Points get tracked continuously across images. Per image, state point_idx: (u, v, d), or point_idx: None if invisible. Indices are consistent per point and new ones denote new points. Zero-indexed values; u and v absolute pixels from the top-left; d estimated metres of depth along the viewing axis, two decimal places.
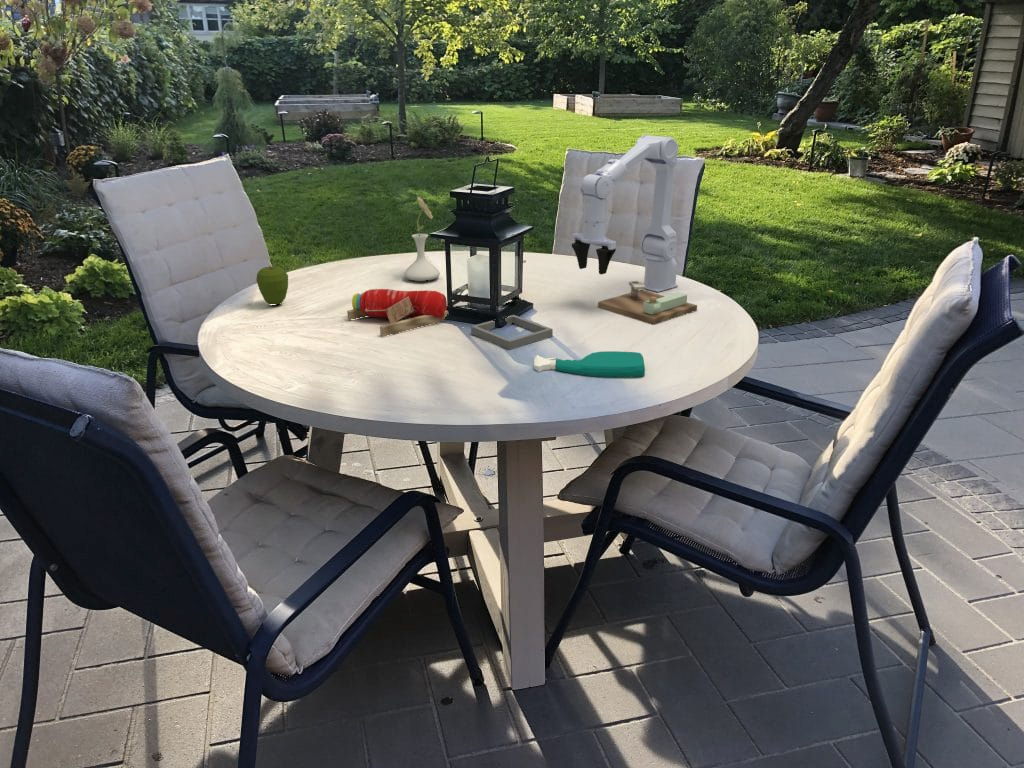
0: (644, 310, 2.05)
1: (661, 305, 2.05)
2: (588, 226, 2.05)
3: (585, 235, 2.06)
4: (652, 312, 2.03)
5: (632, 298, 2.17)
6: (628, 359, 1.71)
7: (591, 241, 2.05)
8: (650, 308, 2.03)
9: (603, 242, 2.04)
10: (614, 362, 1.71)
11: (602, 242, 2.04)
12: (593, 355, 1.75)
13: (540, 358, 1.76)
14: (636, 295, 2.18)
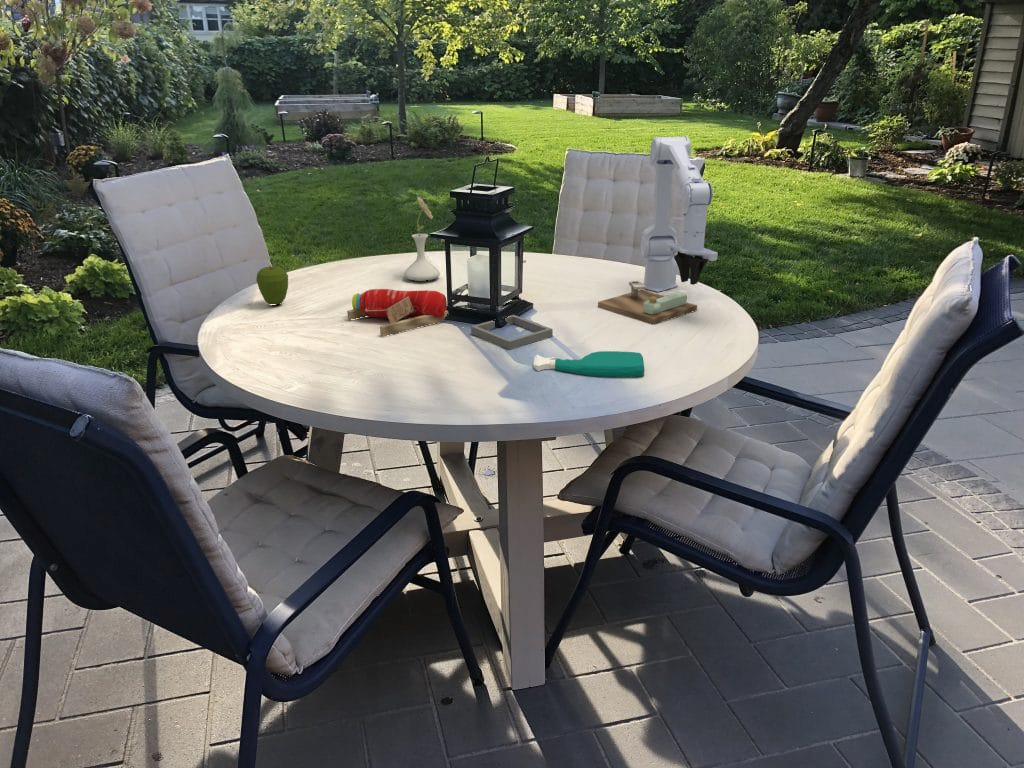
0: (644, 310, 2.05)
1: (661, 305, 2.05)
2: (688, 236, 1.96)
3: (685, 245, 1.97)
4: (652, 312, 2.03)
5: (632, 298, 2.17)
6: (627, 359, 1.72)
7: (691, 252, 1.97)
8: (650, 308, 2.03)
9: (704, 253, 1.95)
10: (614, 361, 1.71)
11: (703, 253, 1.95)
12: (593, 355, 1.75)
13: (540, 357, 1.76)
14: (636, 295, 2.18)
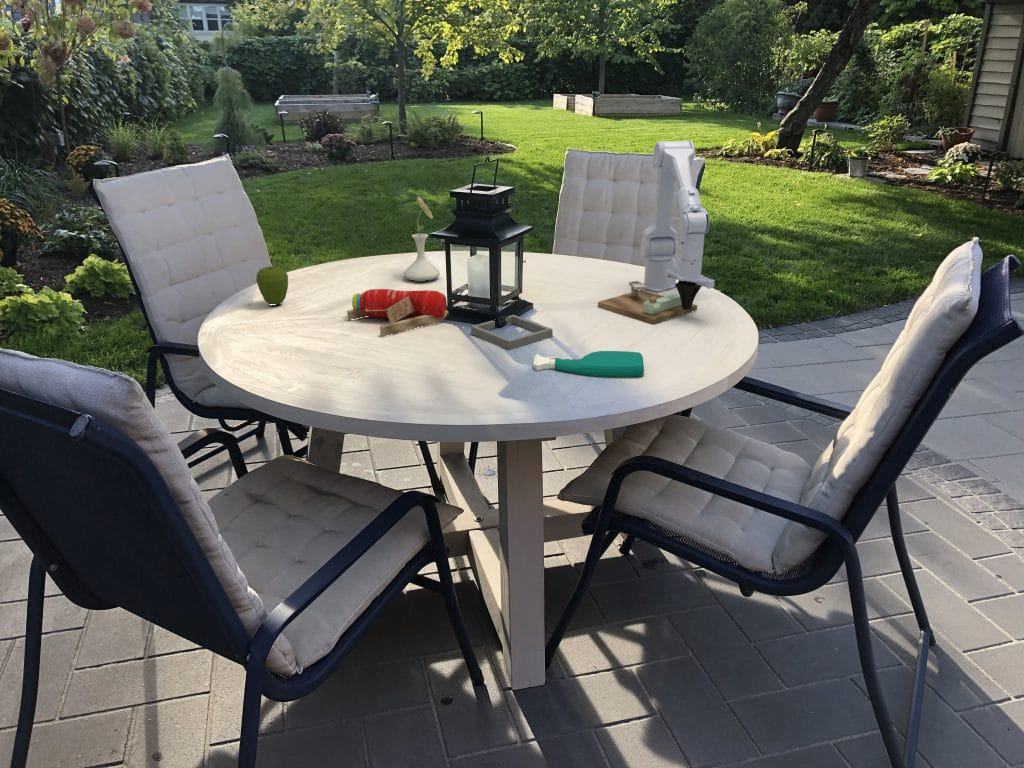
0: (644, 310, 2.05)
1: (661, 305, 2.05)
2: (685, 264, 1.99)
3: (682, 273, 2.00)
4: (652, 312, 2.03)
5: (632, 298, 2.17)
6: (627, 359, 1.72)
7: (688, 279, 2.00)
8: (650, 308, 2.03)
9: (701, 281, 1.98)
10: (613, 361, 1.71)
11: (700, 281, 1.98)
12: (593, 355, 1.75)
13: (540, 357, 1.76)
14: (636, 295, 2.18)
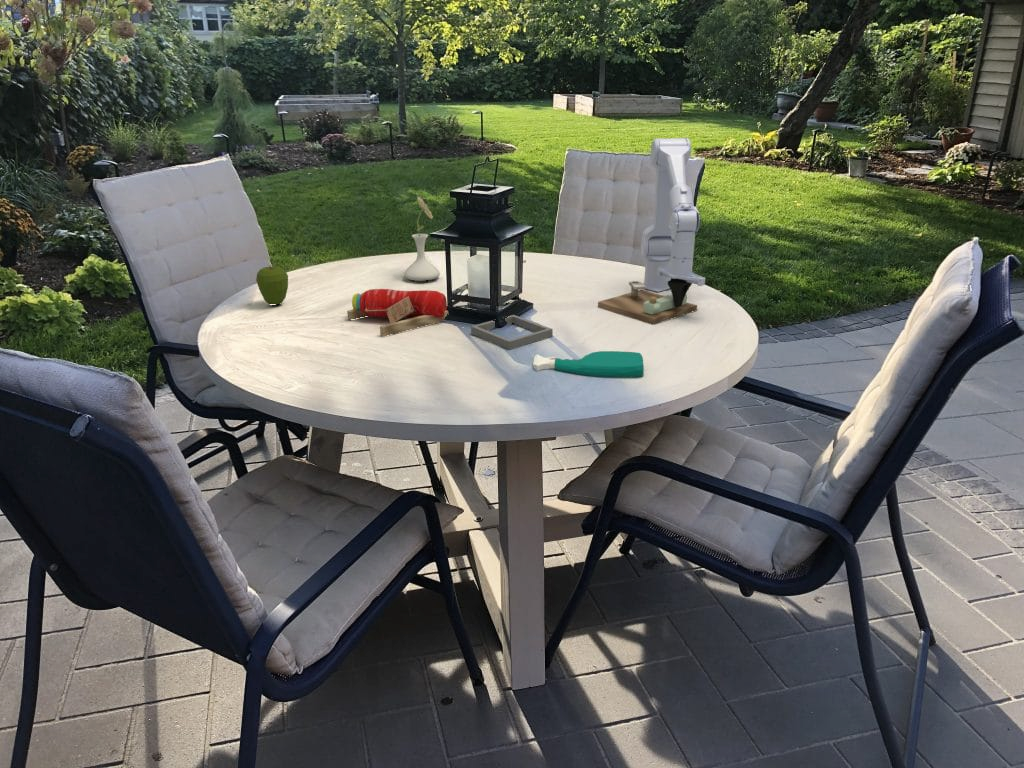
0: (644, 310, 2.05)
1: (661, 305, 2.05)
2: (676, 262, 2.01)
3: (673, 270, 2.02)
4: (652, 312, 2.03)
5: (632, 298, 2.17)
6: (627, 359, 1.72)
7: (679, 277, 2.02)
8: (650, 308, 2.03)
9: (692, 278, 2.00)
10: (613, 361, 1.71)
11: (691, 278, 2.00)
12: (592, 355, 1.75)
13: (540, 357, 1.76)
14: (636, 295, 2.18)
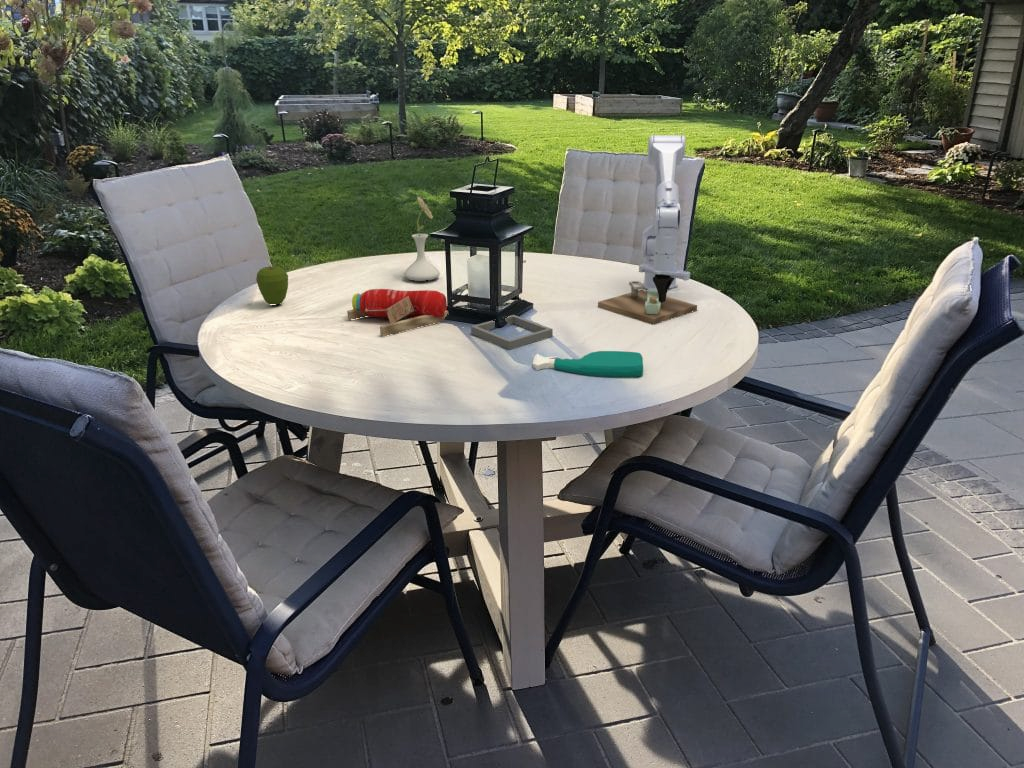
0: (648, 311, 2.04)
1: None
2: (661, 258, 2.04)
3: (658, 266, 2.05)
4: (657, 312, 2.03)
5: (632, 298, 2.17)
6: (627, 359, 1.72)
7: (664, 273, 2.05)
8: (656, 309, 2.03)
9: (678, 273, 2.04)
10: (613, 361, 1.71)
11: (676, 273, 2.04)
12: (592, 355, 1.75)
13: (539, 357, 1.76)
14: (636, 295, 2.18)
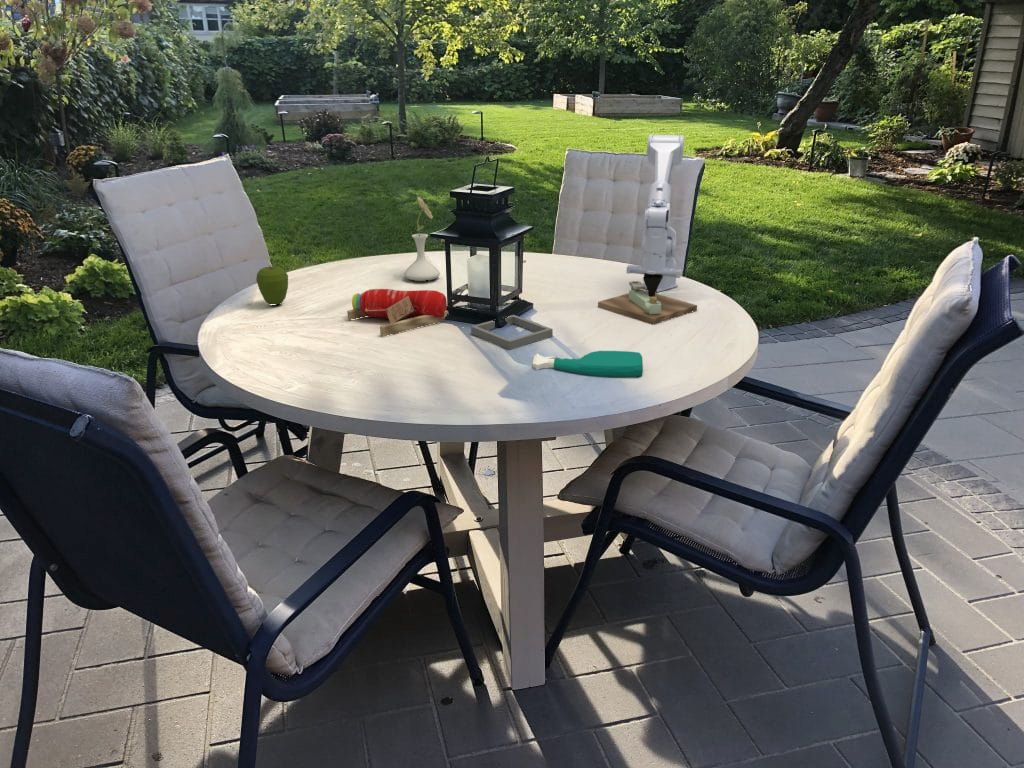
0: (652, 312, 2.03)
1: None
2: (654, 258, 2.05)
3: (651, 266, 2.06)
4: None
5: None
6: (626, 359, 1.72)
7: (658, 272, 2.06)
8: (659, 308, 2.03)
9: (671, 272, 2.06)
10: (612, 361, 1.71)
11: (670, 272, 2.06)
12: (592, 354, 1.75)
13: (539, 356, 1.76)
14: None
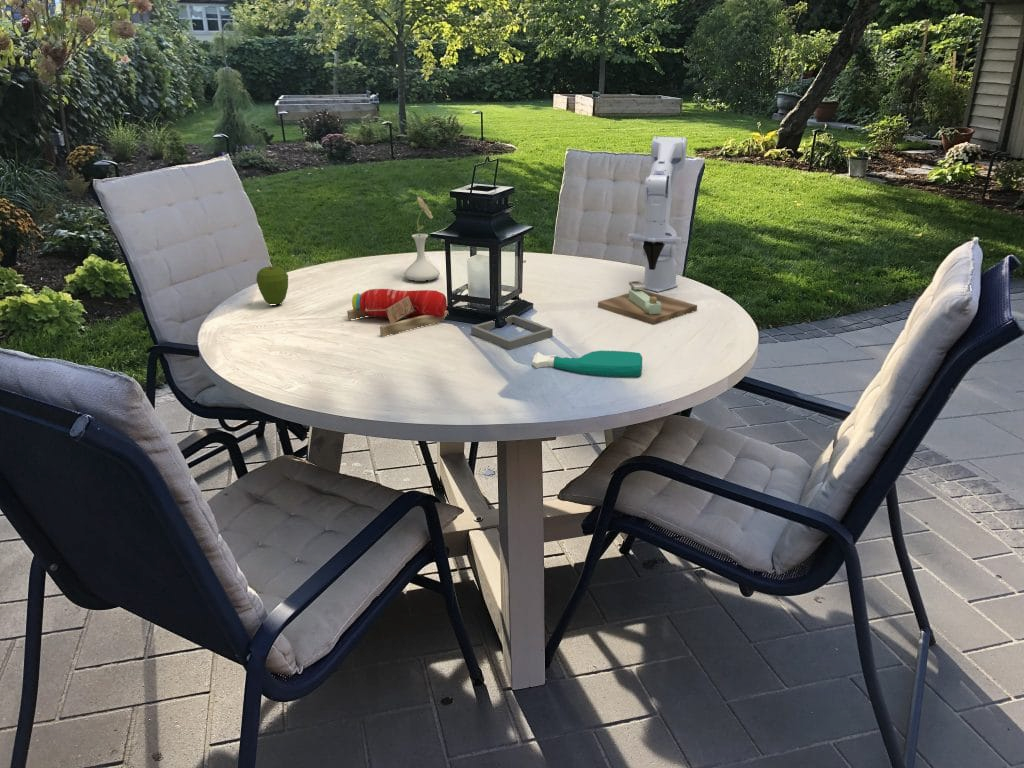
0: (652, 312, 2.03)
1: None
2: (655, 225, 2.08)
3: (651, 234, 2.09)
4: None
5: None
6: (626, 359, 1.72)
7: (658, 240, 2.10)
8: (659, 308, 2.03)
9: (671, 239, 2.09)
10: (611, 361, 1.71)
11: (670, 239, 2.09)
12: (592, 354, 1.75)
13: (540, 355, 1.77)
14: None
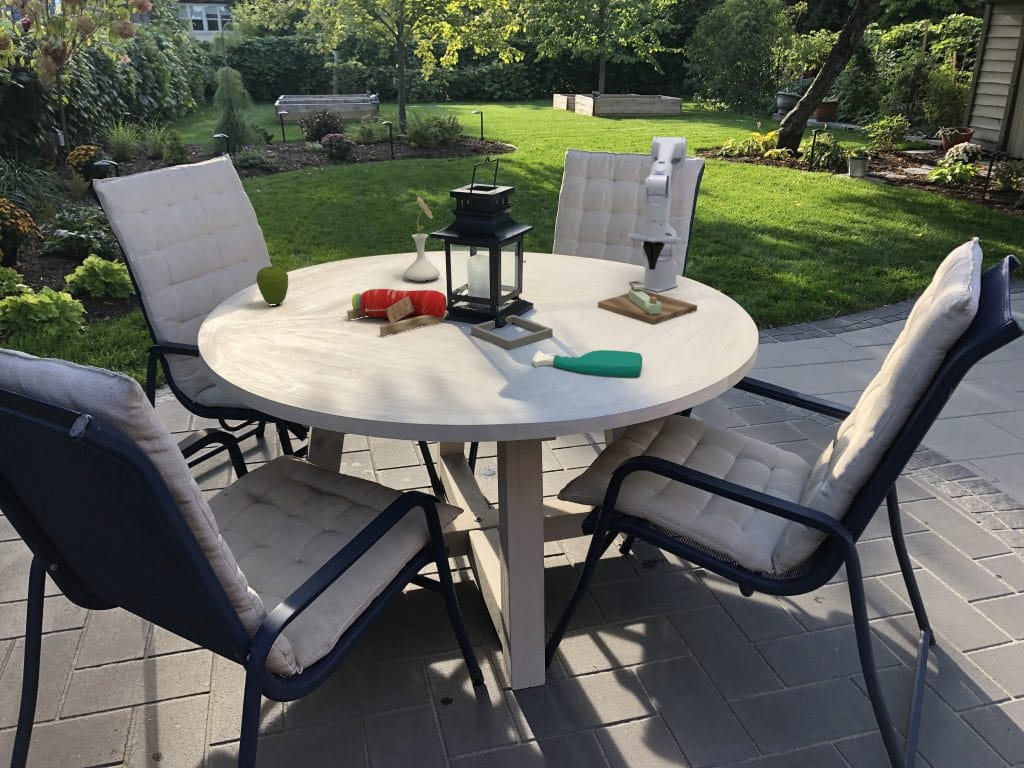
0: (652, 312, 2.03)
1: None
2: (655, 225, 2.08)
3: (651, 234, 2.09)
4: None
5: None
6: (625, 359, 1.72)
7: (658, 239, 2.10)
8: (659, 308, 2.03)
9: (671, 239, 2.09)
10: (611, 361, 1.71)
11: (670, 239, 2.09)
12: (592, 353, 1.76)
13: (540, 354, 1.78)
14: None
